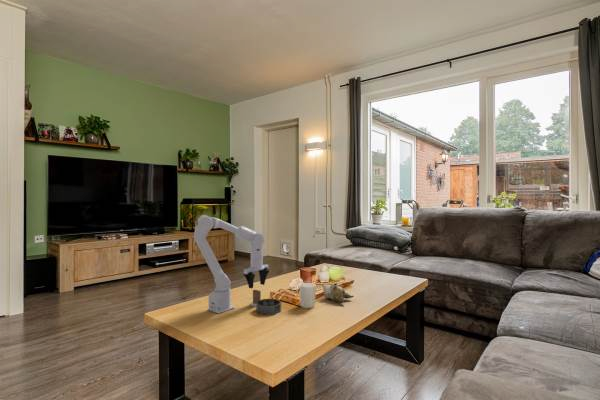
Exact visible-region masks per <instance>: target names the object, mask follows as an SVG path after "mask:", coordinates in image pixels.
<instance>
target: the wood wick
mask: <svg viewBox="0 0 600 400" xmlns="http://www.w3.org/2000/svg"><path fill="white" fill-rule="evenodd" d="M259 300H262V299H261V290H259V289H258V290H257V289H252V302H251V301H250V302H249V306H252V307H255V308H256V303H257V302H258V301H259Z"/></svg>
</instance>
